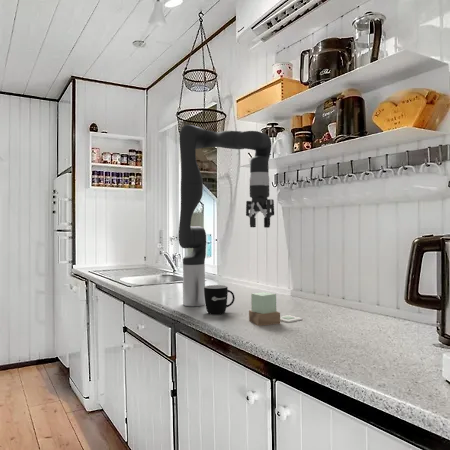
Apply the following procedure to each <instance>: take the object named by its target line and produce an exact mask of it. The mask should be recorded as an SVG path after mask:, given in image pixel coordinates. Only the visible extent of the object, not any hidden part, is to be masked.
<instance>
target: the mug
mask: <svg viewBox="0 0 450 450" xmlns="http://www.w3.org/2000/svg"><path fill="white" fill-rule="evenodd" d="M228 287H229V286H228V285H224V284H223V285H222V284H212V285H211V284H209V285H205V287H204V296H205V305H204V306H205V310H206V311H207V312H206V313H207V314H209V315H213V316H217V315H218V316H219V315H223V314H226V310H227V308H229V307H230V306H232V305H233V304H234V302H235V299H236V298H235V294H234V292H233V291H232V290H230V289H229V288H228ZM228 293H230V294H231V296H232V299H231V302H230V303H229V304H228Z"/></svg>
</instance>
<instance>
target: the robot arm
mask: <svg viewBox="0 0 450 450" xmlns="http://www.w3.org/2000/svg"><path fill="white" fill-rule="evenodd" d="M178 139H179V151H180V166H181V167H180V215H179V226H178V237H177V238H178V242H179V246H180V248H182V249H192V251H191V253H189V254H188V255H185V256H184V257H183V259H182V274H183V275H182V278H183V280H182V304H183V306H184V307H202V306H206V305H205V296H204V287H205V286H206V277H205V276H206V268H205V267H206V266H205V263H206V262H205V259H206V256H207V233H206V230H205V228H204V227H203V226H199V225H197V226H196V225H195V226H192V217H193V214H194V212H195V210H196V209H197V207H198V205H199V204H200V201H201V200H202V197H203V192H204V191H203V189H204V184H203V183H204V181H203V175H202V172H201V170H200V167H199V165H198V162H197V157H196V154H197V153H196V151H197V149H198V150H199V149H206V148H222V149H229V150H244V149H245V150H246V149H247V150H252V151H254V152H255V153H254V157H252V158H251V159H250V161H249V197H250V199H251V200H246V201H245V202H246V204H245V205H246V206H245V215H246V217H248V218H249V225H250V226H249V227H250V228H256V225H257V222H256V221H257V220H256V219H257V218H256V217H257V214H258V213H259V212H260V213H261V214H262V215H263V227H264V228H268V229H269V228H270V227H271V217H272V216H275V204H274V203H275V201H274V199H271V198H270V176H269V173H270V172H269V171H270V170H269V168H270V167H269V162H270V161H269V160H270V157H271V153H272V152H271V151H272V140H271V137H270V135H268V134H267V133H264V132H261V131H258V130H246V131H245V130H244V131H241V130H239V131H238V130H223V131H214V130H213V131H212V130H208V129H205V128H202V127H200V126H198V125H197V126H196V125H194V124H193V125H192V124H184V126H182V127H181V129H180V132H179V138H178ZM268 198H269V199H268Z"/></svg>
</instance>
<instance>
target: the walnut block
mask: <svg viewBox="0 0 450 450" xmlns="http://www.w3.org/2000/svg"><path fill="white" fill-rule="evenodd" d="M280 317H281V312H280V311H277V310H276V312H272V313H265V314H261V313H257V312H253V311H252V310H251V309H249V310H248V321H249V322H250V323H252V324H254V325H256V326H259V327H261V326H268V325H269V326H270V325H272V326H273V325H280V324H281V321H280Z"/></svg>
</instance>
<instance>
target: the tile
mask: <svg viewBox="0 0 450 450" xmlns="http://www.w3.org/2000/svg"><path fill="white" fill-rule="evenodd" d="M302 320H303V318H302V317H298V316H294V315H290V314H288V315H287V314H286V315H282V316H281V315H280V322H283V323H292V322H293V323H294V322H298V321H302Z"/></svg>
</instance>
